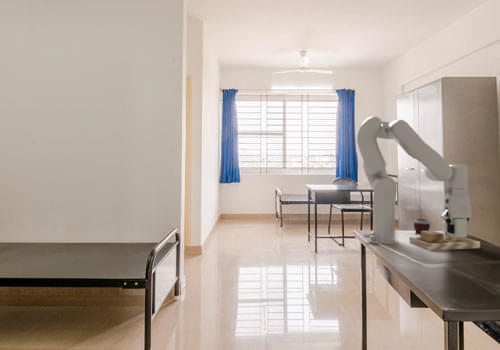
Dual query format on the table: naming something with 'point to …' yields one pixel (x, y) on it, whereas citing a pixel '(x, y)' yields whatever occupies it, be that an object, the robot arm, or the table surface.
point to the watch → (445, 228)
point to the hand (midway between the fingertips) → (456, 232)
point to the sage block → (459, 227)
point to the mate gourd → (421, 224)
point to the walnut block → (432, 237)
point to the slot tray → (446, 243)
